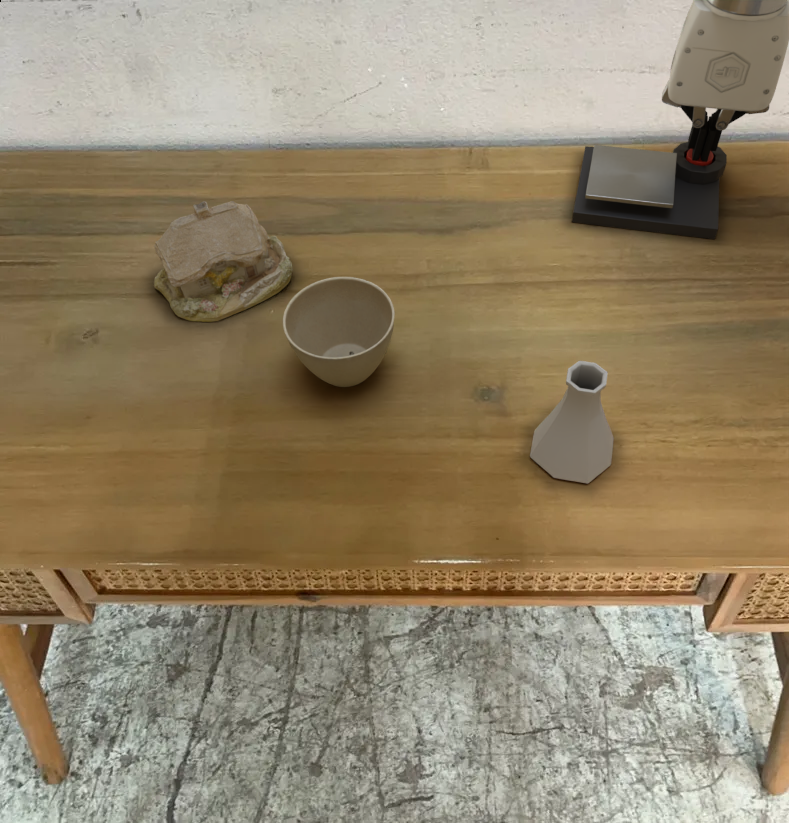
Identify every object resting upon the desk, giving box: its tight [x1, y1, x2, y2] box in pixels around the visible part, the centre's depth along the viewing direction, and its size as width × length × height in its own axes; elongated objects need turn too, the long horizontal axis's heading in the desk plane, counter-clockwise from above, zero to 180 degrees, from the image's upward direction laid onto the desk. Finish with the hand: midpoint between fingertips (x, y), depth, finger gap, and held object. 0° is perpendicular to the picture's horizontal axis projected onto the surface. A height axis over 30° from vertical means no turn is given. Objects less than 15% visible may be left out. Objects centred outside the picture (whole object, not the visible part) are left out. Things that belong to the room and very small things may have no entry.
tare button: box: [686, 149, 713, 166], centre depth 92 cm, size 3×3×2 cm
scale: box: [571, 141, 728, 240], centre depth 92 cm, size 15×13×3 cm
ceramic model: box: [153, 200, 293, 323], centre depth 84 cm, size 14×11×10 cm
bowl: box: [282, 276, 396, 388], centre depth 77 cm, size 10×10×7 cm
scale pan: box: [585, 144, 677, 208], centre depth 90 cm, size 9×9×1 cm
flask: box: [529, 360, 615, 484], centre depth 69 cm, size 7×7×10 cm
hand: (699, 153), depth 92 cm, fingers closed
